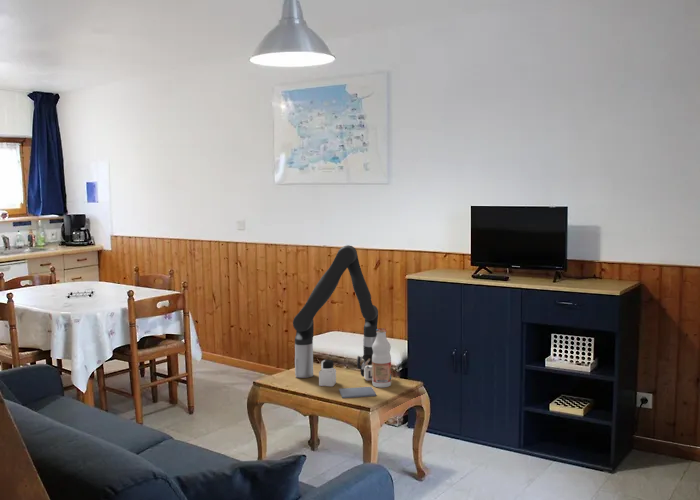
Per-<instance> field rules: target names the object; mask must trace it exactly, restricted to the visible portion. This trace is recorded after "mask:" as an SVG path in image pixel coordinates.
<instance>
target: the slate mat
mask: <svg viewBox="0 0 700 500" xmlns="http://www.w3.org/2000/svg"><path fill="white" fill-rule="evenodd" d="M338 392H339V393H340V396H341V398H342V399H350V398H353V399H354V398H365V397H366V398H367V397H377V393H376V392H375V390H374V388H373V387H372V386H362V387H361V386H359V387H347V388H346V387H345V388H338Z"/></svg>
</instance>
